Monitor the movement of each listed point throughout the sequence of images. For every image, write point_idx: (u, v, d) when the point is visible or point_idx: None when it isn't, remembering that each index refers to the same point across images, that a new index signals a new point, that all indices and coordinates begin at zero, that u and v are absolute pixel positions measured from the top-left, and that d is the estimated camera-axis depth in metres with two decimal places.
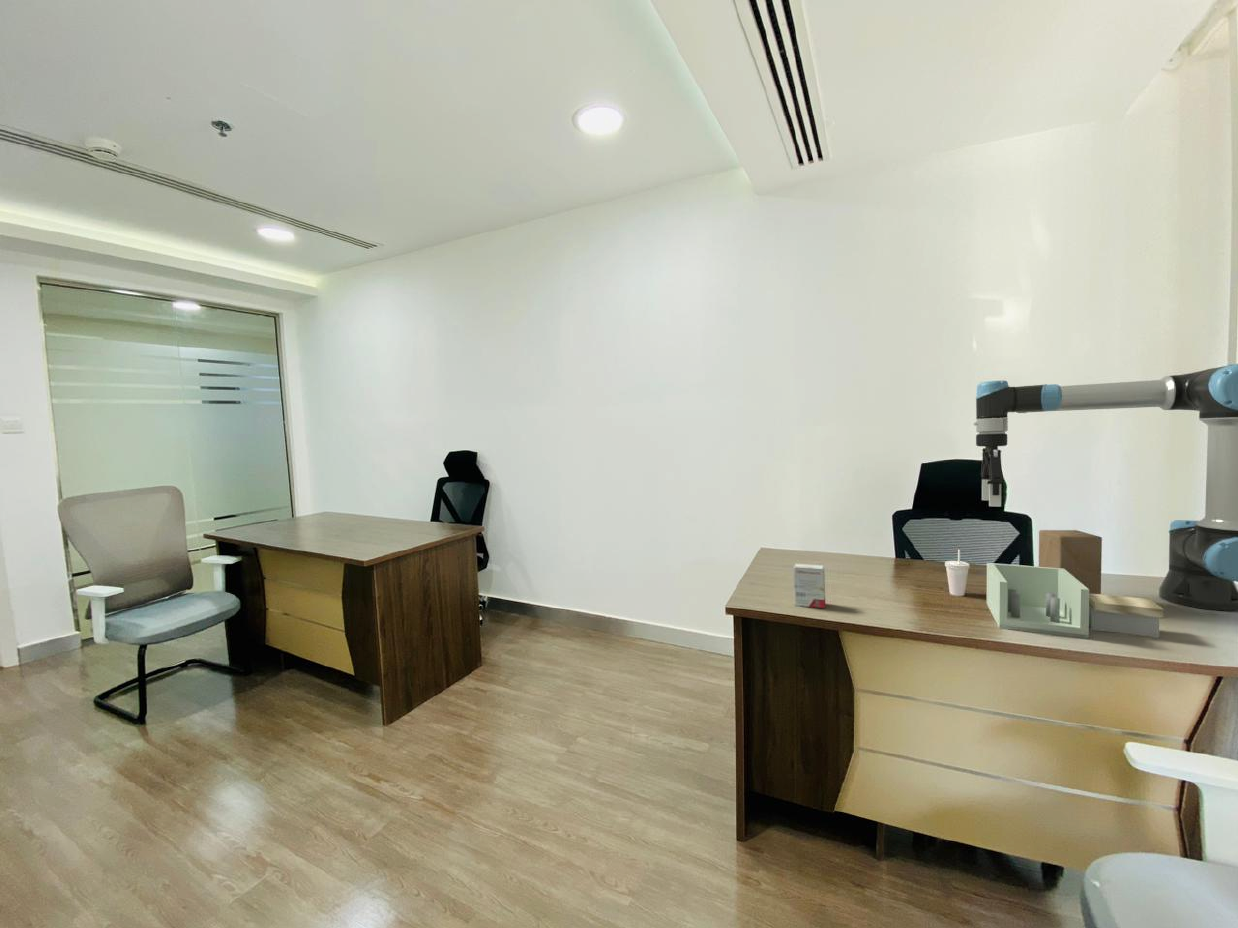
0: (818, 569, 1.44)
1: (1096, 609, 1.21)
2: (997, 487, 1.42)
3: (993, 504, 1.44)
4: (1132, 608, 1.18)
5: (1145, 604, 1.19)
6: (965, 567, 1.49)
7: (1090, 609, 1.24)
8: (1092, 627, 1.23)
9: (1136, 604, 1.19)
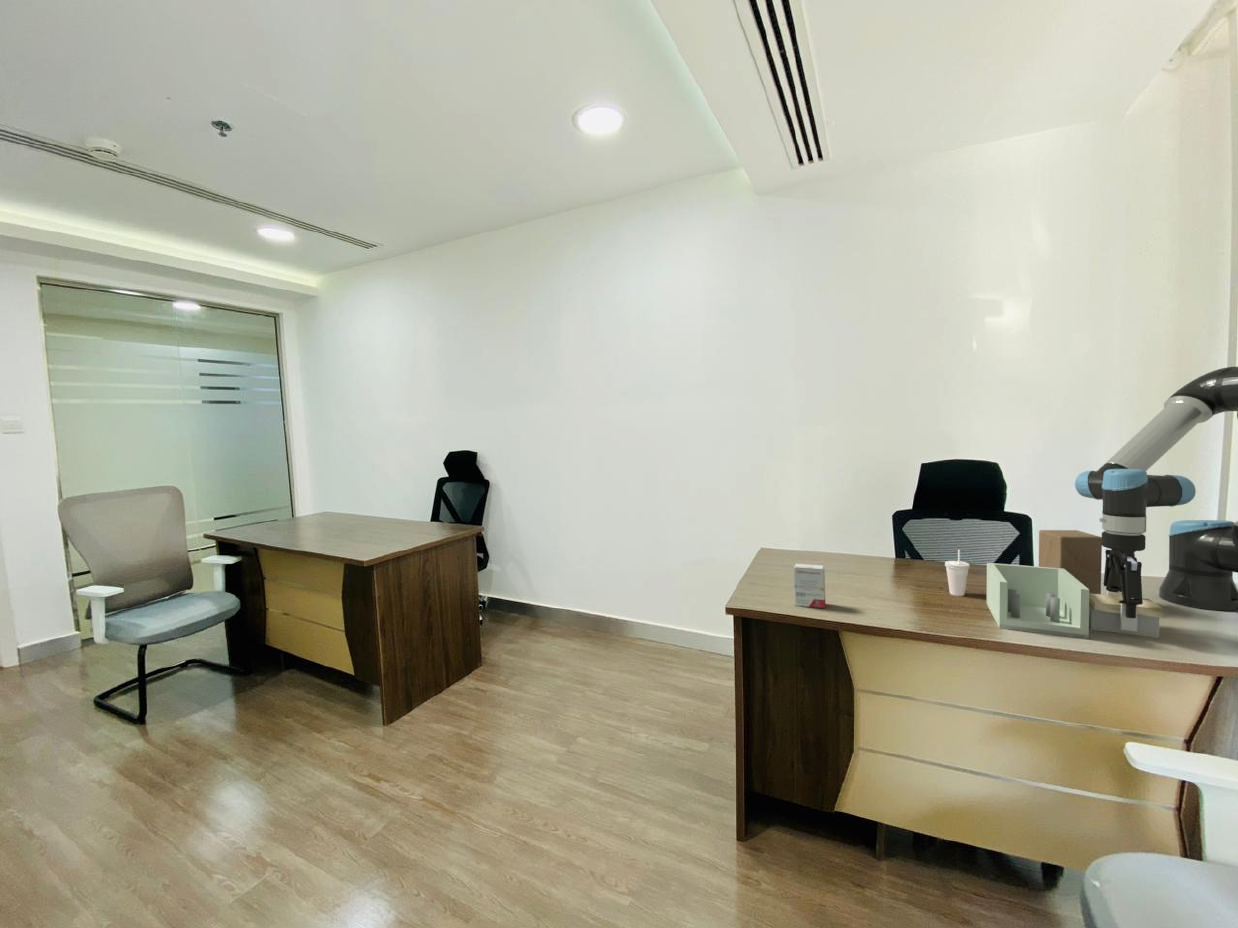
0: (818, 569, 1.44)
1: (1096, 609, 1.21)
2: (1133, 608, 1.16)
3: (1126, 627, 1.18)
4: None
5: (1145, 604, 1.19)
6: (965, 567, 1.49)
7: (1090, 609, 1.24)
8: (1092, 627, 1.23)
9: None
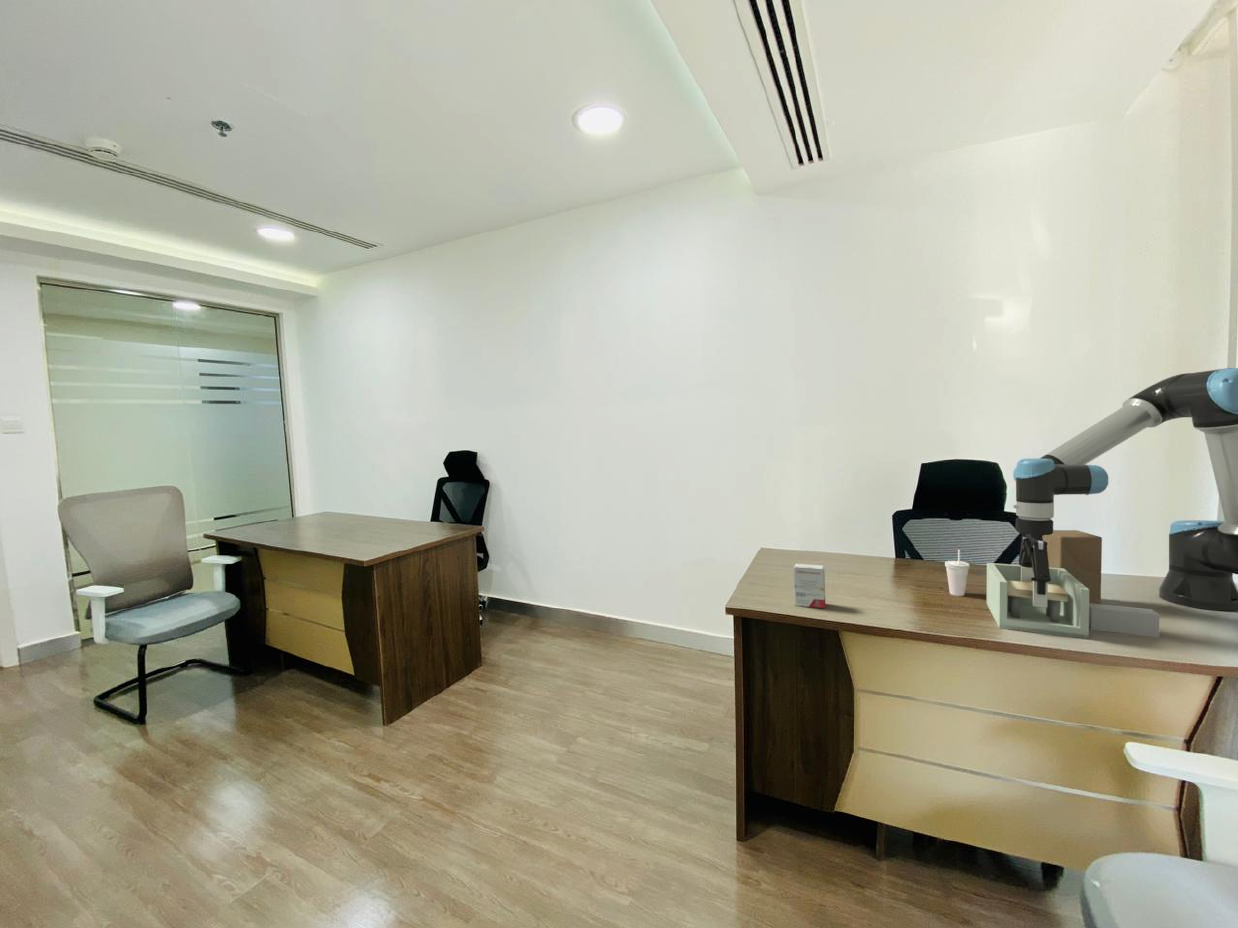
0: (818, 569, 1.44)
1: (1009, 594, 1.29)
2: (1043, 585, 1.22)
3: (1038, 604, 1.24)
4: None
5: (1053, 589, 1.27)
6: (965, 567, 1.49)
7: (1090, 609, 1.24)
8: (1092, 627, 1.23)
9: None
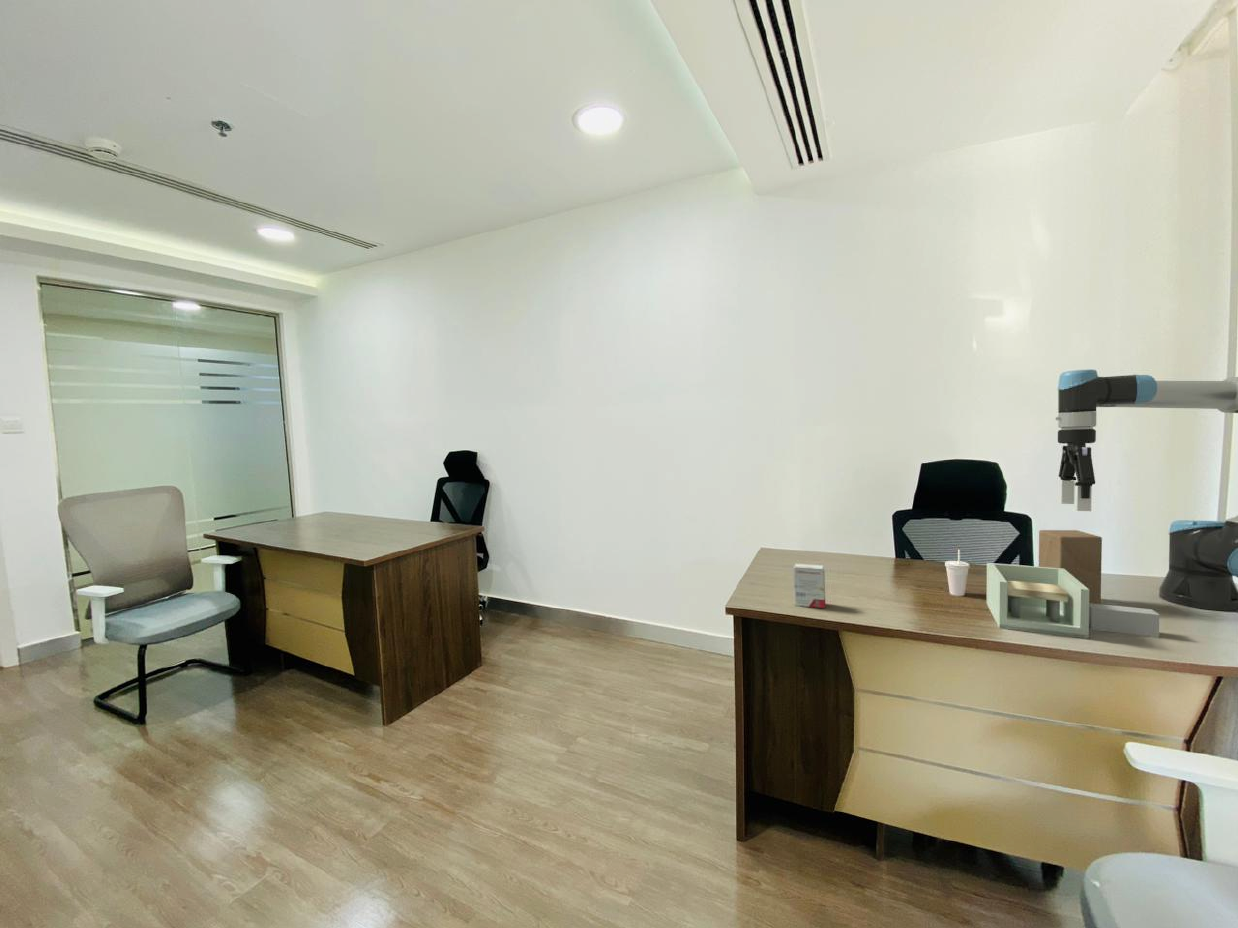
0: (818, 569, 1.44)
1: (1009, 594, 1.29)
2: (1087, 489, 1.26)
3: (1081, 508, 1.28)
4: (1040, 593, 1.26)
5: (1053, 589, 1.27)
6: (965, 567, 1.49)
7: (1090, 609, 1.24)
8: (1092, 627, 1.23)
9: (1045, 589, 1.27)
